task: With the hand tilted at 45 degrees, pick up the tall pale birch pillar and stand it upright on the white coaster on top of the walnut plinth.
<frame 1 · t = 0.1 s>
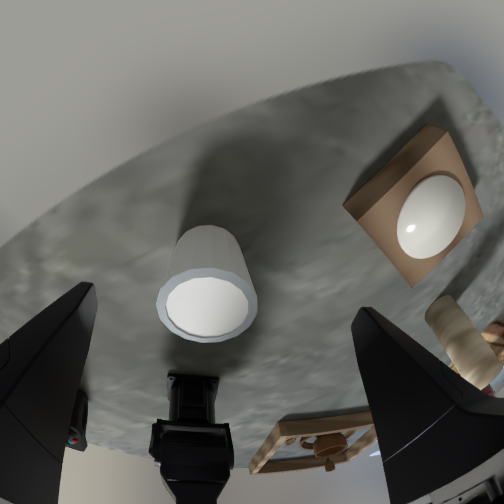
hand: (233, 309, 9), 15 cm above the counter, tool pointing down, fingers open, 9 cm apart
walnut plinth: (414, 203, 25), on the counter
birch pillar: (439, 309, 34), on the counter
oak tray rim: (319, 441, 53), on the counter
place setting: (318, 439, 54), on the counter
controller: (79, 396, 36), on the counter
white short cylinder: (207, 253, 25), on the counter
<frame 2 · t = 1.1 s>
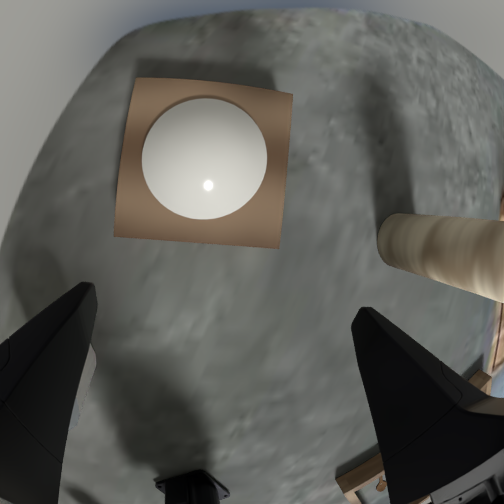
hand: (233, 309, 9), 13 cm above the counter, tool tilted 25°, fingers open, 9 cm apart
walnut plinth: (203, 164, 21), on the counter
birch pillar: (398, 240, 25), on the counter
oak tray rim: (421, 463, 33), on the counter
white short cylinder: (69, 353, 21), on the counter
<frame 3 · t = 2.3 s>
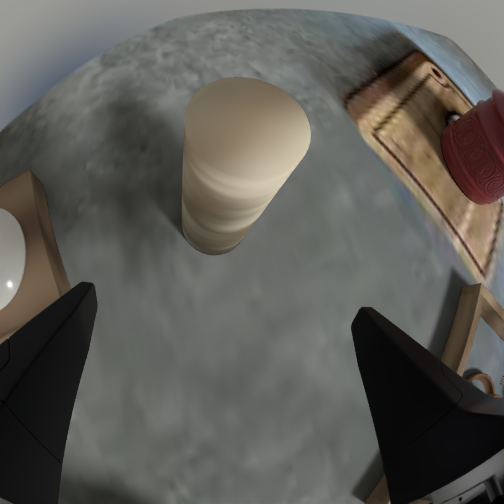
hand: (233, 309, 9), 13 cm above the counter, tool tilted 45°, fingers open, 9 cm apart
walnut plinth: (7, 267, 18), on the counter
birch pillar: (213, 223, 23), on the counter
oak tray rim: (475, 420, 25), on the counter
canister: (466, 166, 34), on the counter
place setting: (472, 426, 26), on the counter
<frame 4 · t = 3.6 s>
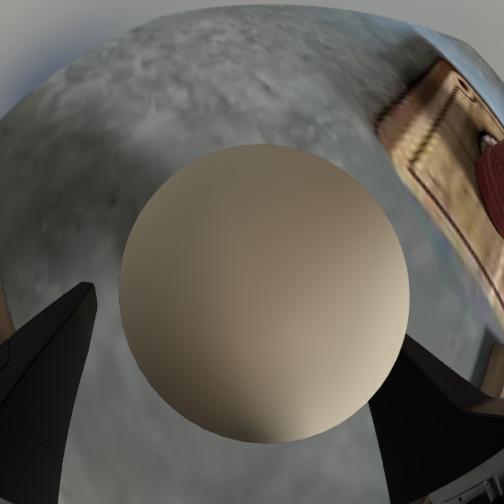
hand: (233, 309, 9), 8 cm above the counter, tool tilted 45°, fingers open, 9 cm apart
birch pillar: (211, 312, 17), on the counter
oak tray rim: (489, 472, 19), on the counter
canister: (499, 198, 28), on the counter
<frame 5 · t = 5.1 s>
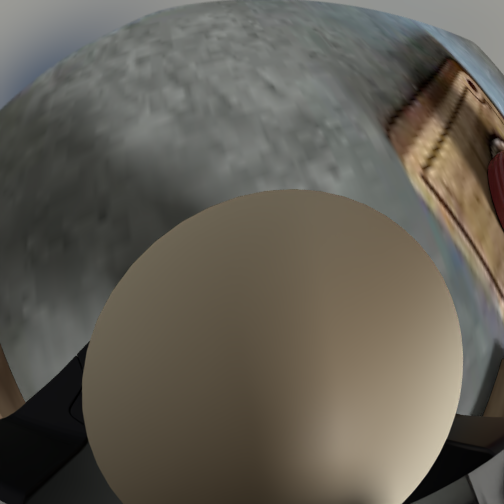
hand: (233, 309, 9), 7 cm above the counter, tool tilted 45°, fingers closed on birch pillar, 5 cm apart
birch pillar: (211, 339, 15), on the counter, touching gripper
oak tray rim: (492, 483, 17), on the counter
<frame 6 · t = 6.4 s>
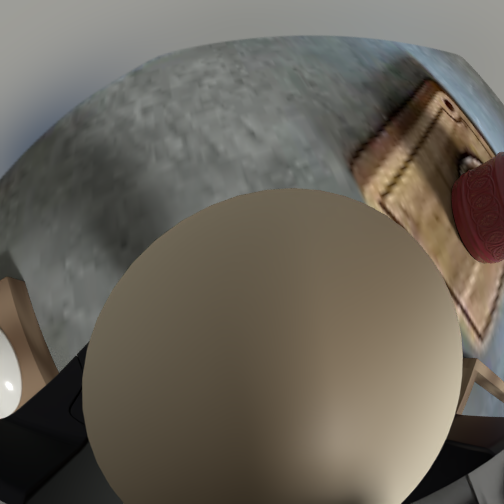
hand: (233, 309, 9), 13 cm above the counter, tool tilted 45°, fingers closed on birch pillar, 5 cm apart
walnut plinth: (3, 364, 17), on the counter
birch pillar: (211, 338, 15), point 7 cm above the counter, touching gripper
oak tray rim: (458, 471, 23), on the counter
canister: (475, 219, 32), on the counter
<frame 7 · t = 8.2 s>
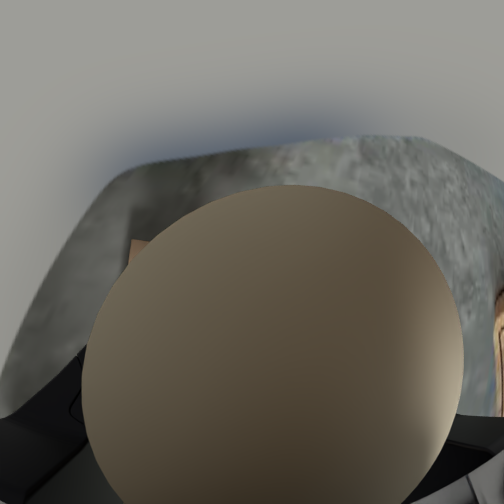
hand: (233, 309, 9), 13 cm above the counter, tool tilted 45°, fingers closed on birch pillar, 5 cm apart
birch pillar: (211, 338, 15), point 6 cm above the counter, touching gripper
when the fingers open (11 cm above the counter, at t = 9.2 s): birch pillar drops 1 cm, resting on walnut plinth.
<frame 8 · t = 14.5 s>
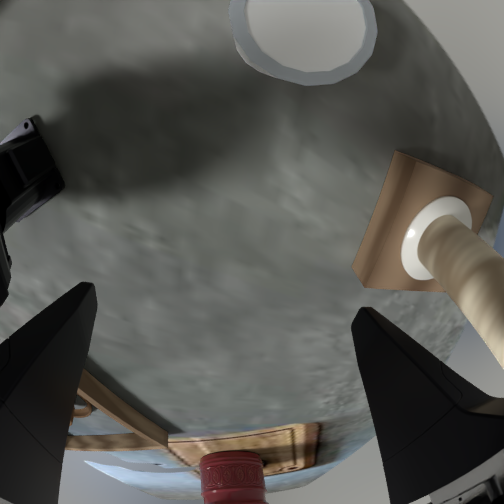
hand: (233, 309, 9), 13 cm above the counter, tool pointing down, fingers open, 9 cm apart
walnut plinth: (419, 222, 24), on the counter
birch pillar: (439, 241, 21), point 3 cm above the counter, touching walnut plinth
oak tray rim: (58, 402, 34), on the counter
canister: (230, 458, 50), on the counter
white short cylinder: (277, 37, 15), on the counter
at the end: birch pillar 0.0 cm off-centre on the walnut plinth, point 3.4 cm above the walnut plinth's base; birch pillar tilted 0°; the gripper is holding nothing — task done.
